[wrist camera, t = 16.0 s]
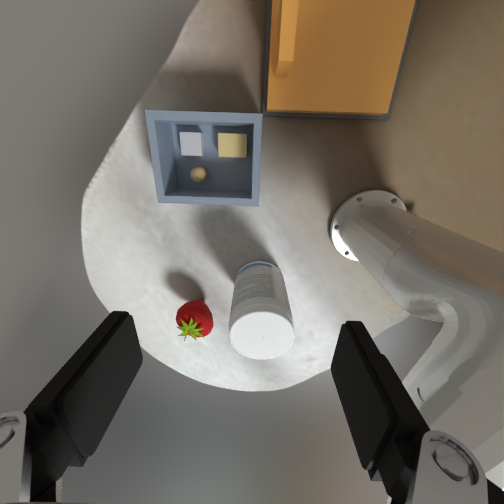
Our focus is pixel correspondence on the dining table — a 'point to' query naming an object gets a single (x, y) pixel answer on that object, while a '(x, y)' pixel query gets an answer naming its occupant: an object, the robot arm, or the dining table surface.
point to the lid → (335, 55)
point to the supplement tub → (260, 312)
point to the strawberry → (194, 319)
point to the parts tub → (205, 156)
